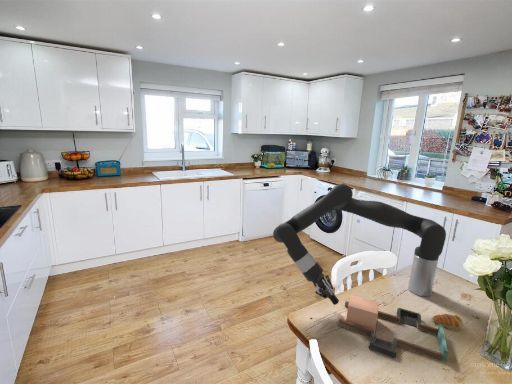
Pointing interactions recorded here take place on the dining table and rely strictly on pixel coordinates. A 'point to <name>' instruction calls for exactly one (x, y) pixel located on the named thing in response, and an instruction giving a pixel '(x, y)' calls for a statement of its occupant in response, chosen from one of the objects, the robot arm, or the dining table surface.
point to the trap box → (385, 346)
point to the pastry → (449, 321)
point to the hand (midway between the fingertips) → (336, 303)
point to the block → (362, 312)
